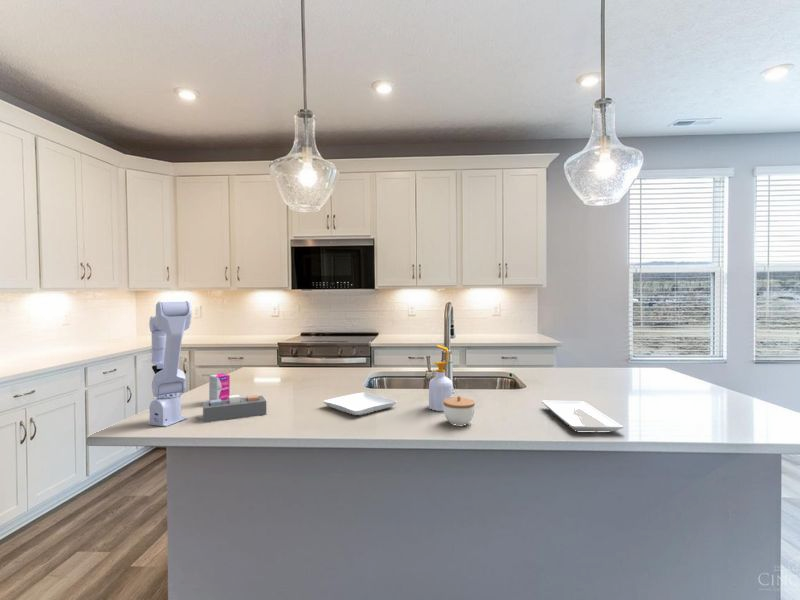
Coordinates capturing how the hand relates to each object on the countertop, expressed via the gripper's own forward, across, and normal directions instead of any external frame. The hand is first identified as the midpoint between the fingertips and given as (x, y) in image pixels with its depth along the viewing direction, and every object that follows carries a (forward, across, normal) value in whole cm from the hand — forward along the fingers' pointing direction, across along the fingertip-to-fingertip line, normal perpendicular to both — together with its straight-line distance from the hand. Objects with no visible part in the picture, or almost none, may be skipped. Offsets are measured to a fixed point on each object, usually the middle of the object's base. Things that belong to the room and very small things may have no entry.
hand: (161, 384), depth 164 cm
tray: (+9, -79, -132) cm, 154 cm away
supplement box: (+11, +3, -21) cm, 23 cm away
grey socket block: (+10, -18, -24) cm, 32 cm away
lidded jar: (+9, -63, -92) cm, 112 cm away
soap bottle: (+10, -44, -96) cm, 106 cm away
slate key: (+8, -18, -18) cm, 26 cm away
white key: (+7, -18, -24) cm, 31 cm away
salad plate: (+10, -30, -69) cm, 75 cm away
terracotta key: (+8, -18, -30) cm, 36 cm away
